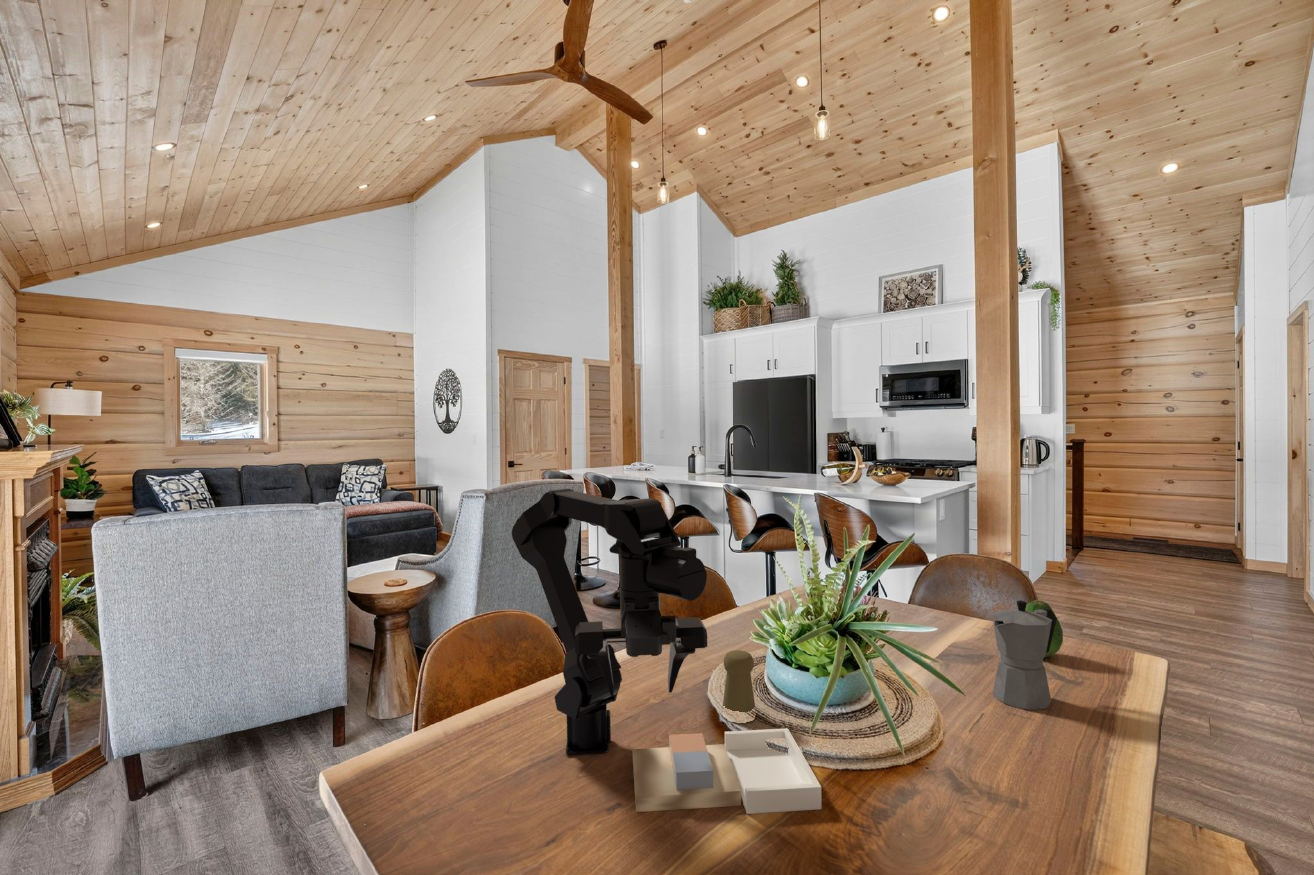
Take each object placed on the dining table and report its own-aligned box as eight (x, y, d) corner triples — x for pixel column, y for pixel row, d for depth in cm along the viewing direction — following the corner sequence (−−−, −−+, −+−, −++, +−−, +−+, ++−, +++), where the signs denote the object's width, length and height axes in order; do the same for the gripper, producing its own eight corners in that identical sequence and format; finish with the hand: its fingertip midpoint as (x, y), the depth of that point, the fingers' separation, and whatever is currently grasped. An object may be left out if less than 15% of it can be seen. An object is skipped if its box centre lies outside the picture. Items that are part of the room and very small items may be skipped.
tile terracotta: (672, 769, 89) (672, 752, 89) (669, 750, 94) (669, 734, 94) (707, 767, 89) (707, 750, 89) (702, 748, 94) (702, 733, 94)
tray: (746, 813, 82) (746, 791, 82) (724, 750, 97) (724, 731, 97) (821, 809, 82) (821, 786, 82) (787, 747, 98) (787, 728, 98)
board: (635, 812, 82) (635, 797, 82) (632, 762, 94) (632, 749, 94) (740, 805, 83) (740, 790, 83) (724, 756, 95) (724, 744, 95)
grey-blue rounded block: (676, 790, 84) (676, 772, 84) (672, 769, 89) (672, 752, 89) (713, 787, 84) (713, 770, 84) (707, 767, 89) (707, 750, 89)
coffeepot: (1020, 717, 106) (1020, 612, 106) (972, 695, 115) (972, 598, 115) (1079, 700, 112) (1080, 601, 112) (1030, 680, 121) (1030, 588, 120)
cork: (755, 724, 105) (755, 660, 105) (720, 721, 106) (719, 658, 106) (757, 708, 111) (756, 647, 111) (723, 705, 112) (722, 645, 112)
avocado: (1011, 653, 135) (1011, 598, 134) (1034, 647, 138) (1035, 593, 138) (1047, 666, 128) (1048, 608, 127) (1071, 659, 131) (1072, 602, 131)
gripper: (572, 606, 81) (574, 724, 82) (714, 600, 83) (715, 715, 84) (575, 583, 92) (577, 687, 93) (700, 578, 94) (701, 680, 95)
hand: (641, 693), depth 91 cm, fingers open, 8 cm apart
